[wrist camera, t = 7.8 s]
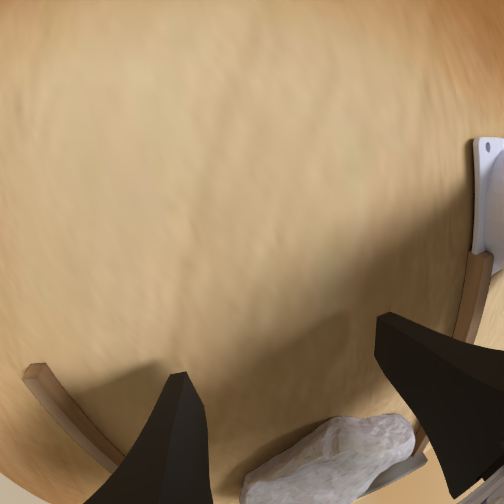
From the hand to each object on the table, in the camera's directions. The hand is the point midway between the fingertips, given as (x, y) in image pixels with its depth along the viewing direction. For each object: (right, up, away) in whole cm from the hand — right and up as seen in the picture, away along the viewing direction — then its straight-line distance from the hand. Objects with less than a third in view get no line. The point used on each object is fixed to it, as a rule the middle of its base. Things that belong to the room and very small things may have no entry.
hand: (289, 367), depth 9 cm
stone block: (+3, -11, +7) cm, 13 cm away
